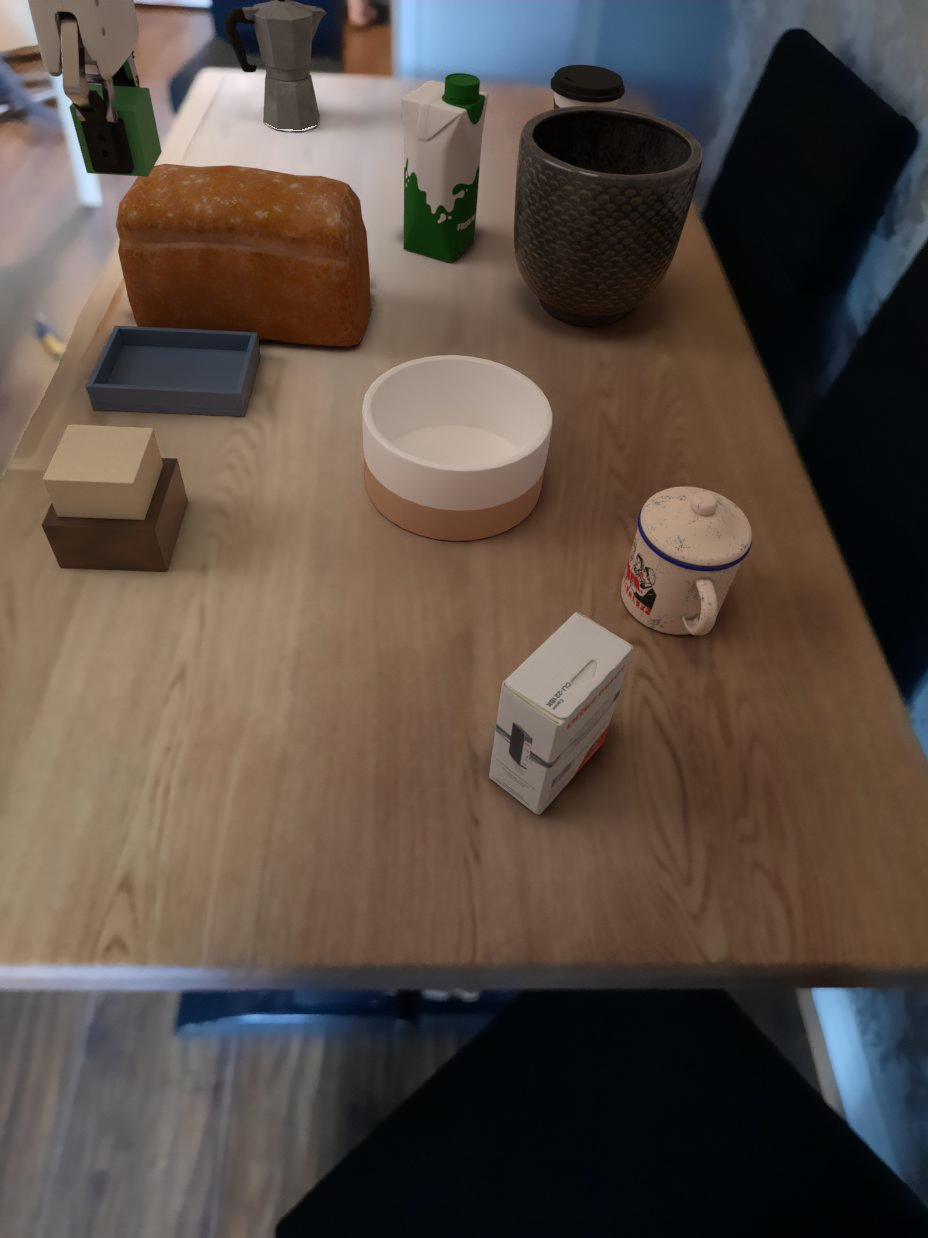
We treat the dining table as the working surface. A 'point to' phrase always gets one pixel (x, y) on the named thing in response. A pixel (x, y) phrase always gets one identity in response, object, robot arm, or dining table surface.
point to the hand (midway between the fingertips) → (122, 154)
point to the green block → (129, 128)
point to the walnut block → (123, 531)
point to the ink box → (557, 710)
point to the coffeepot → (281, 58)
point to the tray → (175, 371)
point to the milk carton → (442, 165)
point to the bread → (246, 253)
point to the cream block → (104, 472)
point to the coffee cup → (586, 86)
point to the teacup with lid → (684, 559)
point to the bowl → (455, 446)
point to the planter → (600, 208)
